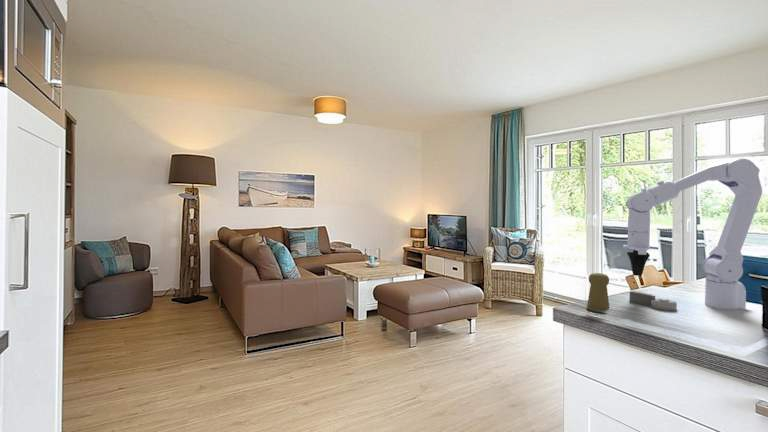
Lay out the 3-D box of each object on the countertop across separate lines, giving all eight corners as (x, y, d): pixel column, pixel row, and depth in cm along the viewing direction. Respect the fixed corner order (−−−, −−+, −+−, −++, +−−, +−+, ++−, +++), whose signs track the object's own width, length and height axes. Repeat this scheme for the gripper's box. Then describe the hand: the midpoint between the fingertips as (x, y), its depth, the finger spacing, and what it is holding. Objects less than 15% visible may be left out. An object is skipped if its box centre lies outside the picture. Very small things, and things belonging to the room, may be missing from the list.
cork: (613, 314, 110) (614, 275, 110) (590, 313, 111) (591, 275, 111) (605, 309, 116) (606, 272, 116) (583, 307, 117) (584, 271, 117)
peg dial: (680, 309, 111) (681, 297, 111) (670, 312, 108) (670, 299, 108) (636, 300, 121) (636, 289, 121) (625, 302, 119) (625, 291, 118)
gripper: (620, 230, 130) (619, 270, 130) (627, 232, 116) (625, 278, 117) (645, 230, 127) (644, 272, 127) (655, 233, 113) (654, 280, 114)
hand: (637, 275), depth 122 cm, fingers closed
